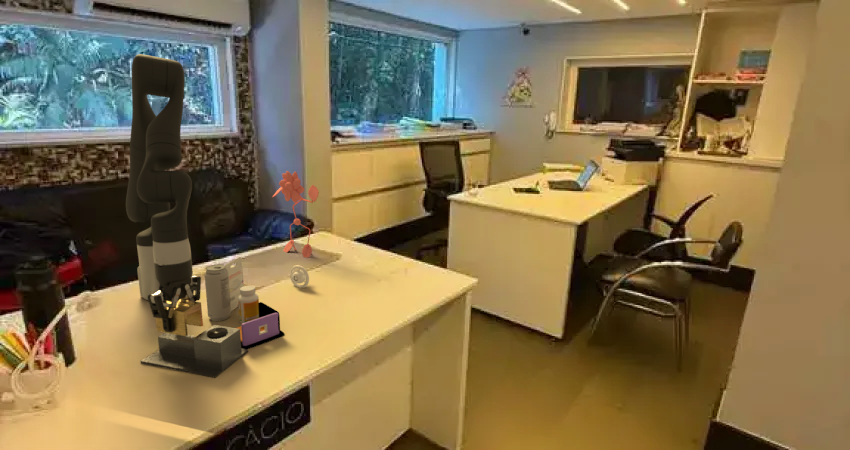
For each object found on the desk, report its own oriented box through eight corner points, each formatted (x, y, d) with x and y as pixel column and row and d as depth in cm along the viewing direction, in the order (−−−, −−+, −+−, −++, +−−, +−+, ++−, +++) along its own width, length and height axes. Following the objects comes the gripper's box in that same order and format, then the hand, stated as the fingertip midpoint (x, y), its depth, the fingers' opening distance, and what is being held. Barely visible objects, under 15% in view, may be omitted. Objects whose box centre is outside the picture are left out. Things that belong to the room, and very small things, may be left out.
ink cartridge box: (230, 300, 142) (227, 254, 139) (245, 301, 141) (242, 256, 138) (213, 311, 134) (209, 263, 131) (229, 313, 133) (225, 265, 130)
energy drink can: (214, 312, 134) (210, 263, 130) (234, 313, 133) (231, 264, 130) (204, 321, 128) (199, 270, 124) (225, 322, 128) (221, 271, 124)
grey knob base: (140, 363, 106) (136, 332, 104) (179, 339, 118) (177, 311, 116) (214, 378, 102) (212, 346, 100) (248, 351, 113) (246, 323, 111)
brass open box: (157, 331, 107) (154, 307, 106) (175, 321, 113) (172, 298, 111) (185, 336, 105) (183, 312, 104) (203, 325, 111) (200, 302, 109)
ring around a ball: (286, 287, 154) (285, 264, 152) (298, 282, 159) (298, 260, 157) (305, 292, 150) (304, 269, 148) (316, 286, 155) (316, 264, 153)
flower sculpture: (284, 248, 195) (281, 166, 187) (329, 260, 182) (327, 172, 173) (254, 257, 183) (249, 169, 174) (299, 271, 169) (296, 176, 161)
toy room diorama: (286, 335, 122) (285, 312, 120) (243, 352, 113) (241, 326, 112) (263, 321, 130) (262, 298, 128) (221, 335, 121) (219, 311, 119)
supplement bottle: (263, 318, 131) (262, 286, 129) (251, 326, 126) (249, 293, 124) (248, 314, 133) (246, 283, 130) (235, 322, 128) (232, 289, 125)
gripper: (182, 247, 112) (188, 311, 116) (132, 265, 99) (141, 337, 103) (208, 250, 111) (214, 315, 115) (161, 269, 97) (169, 342, 101)
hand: (179, 325), depth 109 cm, fingers closed on brass open box, 5 cm apart
